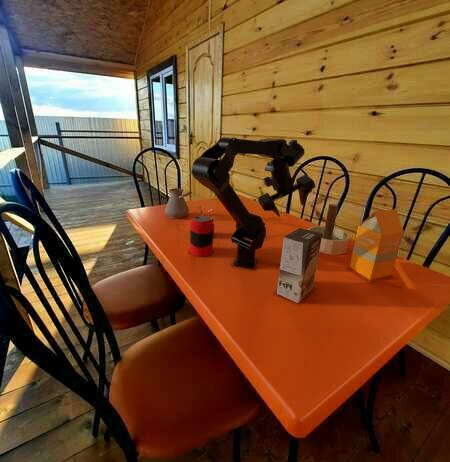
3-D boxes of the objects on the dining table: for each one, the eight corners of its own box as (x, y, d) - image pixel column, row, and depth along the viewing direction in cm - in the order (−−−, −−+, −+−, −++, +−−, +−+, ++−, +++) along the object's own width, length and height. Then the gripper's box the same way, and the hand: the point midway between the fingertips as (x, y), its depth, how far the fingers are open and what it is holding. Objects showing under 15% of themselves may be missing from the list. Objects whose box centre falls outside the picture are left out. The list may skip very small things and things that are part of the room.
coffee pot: (161, 214, 124) (159, 183, 119) (183, 211, 130) (182, 182, 125) (179, 228, 107) (179, 193, 102) (203, 223, 113) (204, 190, 108)
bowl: (349, 260, 85) (352, 243, 83) (305, 252, 89) (307, 237, 87) (344, 243, 98) (347, 229, 96) (306, 237, 102) (308, 223, 100)
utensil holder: (210, 239, 97) (211, 209, 93) (195, 236, 99) (195, 207, 95) (216, 234, 102) (216, 205, 98) (201, 231, 104) (202, 203, 100)
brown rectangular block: (333, 249, 90) (342, 207, 85) (319, 247, 92) (326, 206, 86) (332, 244, 95) (340, 204, 90) (318, 242, 96) (325, 202, 91)
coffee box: (299, 304, 62) (308, 244, 57) (276, 293, 66) (282, 236, 60) (313, 288, 69) (323, 233, 63) (291, 279, 72) (298, 226, 67)
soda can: (199, 245, 92) (199, 213, 88) (216, 250, 88) (217, 217, 84) (185, 252, 86) (185, 219, 82) (204, 259, 82) (204, 224, 78)
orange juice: (348, 268, 79) (361, 207, 73) (369, 264, 82) (384, 205, 76) (369, 282, 72) (386, 215, 66) (391, 277, 75) (410, 213, 69)
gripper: (295, 153, 87) (303, 188, 97) (246, 177, 88) (259, 209, 97) (312, 166, 78) (319, 203, 88) (258, 192, 79) (270, 226, 89)
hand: (290, 210), depth 91 cm, fingers open, 9 cm apart
